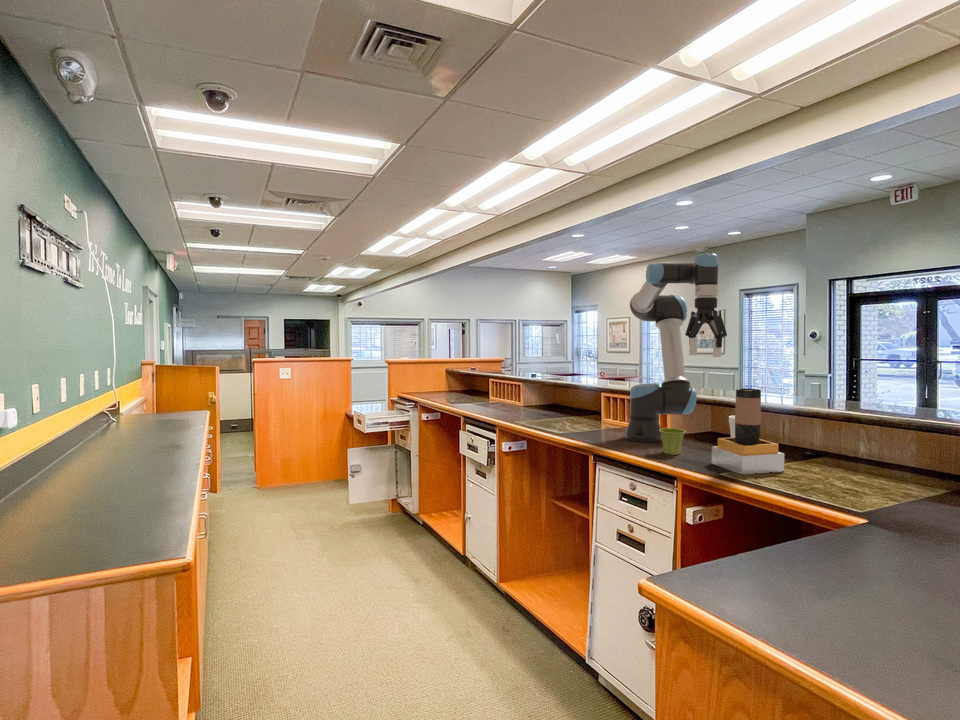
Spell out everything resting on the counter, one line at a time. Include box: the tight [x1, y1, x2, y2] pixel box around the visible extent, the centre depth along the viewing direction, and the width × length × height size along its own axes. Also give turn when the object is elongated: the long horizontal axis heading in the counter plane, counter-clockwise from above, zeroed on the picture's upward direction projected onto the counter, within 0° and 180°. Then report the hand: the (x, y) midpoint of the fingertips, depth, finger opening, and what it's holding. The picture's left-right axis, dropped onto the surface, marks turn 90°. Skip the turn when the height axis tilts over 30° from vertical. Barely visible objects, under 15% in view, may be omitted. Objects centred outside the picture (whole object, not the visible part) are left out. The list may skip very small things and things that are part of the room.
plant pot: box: [659, 427, 687, 456], centre depth 205 cm, size 9×9×9 cm
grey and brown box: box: [710, 436, 785, 475], centre depth 184 cm, size 15×21×9 cm
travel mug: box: [734, 388, 762, 445], centre depth 183 cm, size 8×8×20 cm
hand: (704, 356), depth 199 cm, fingers open, 13 cm apart
